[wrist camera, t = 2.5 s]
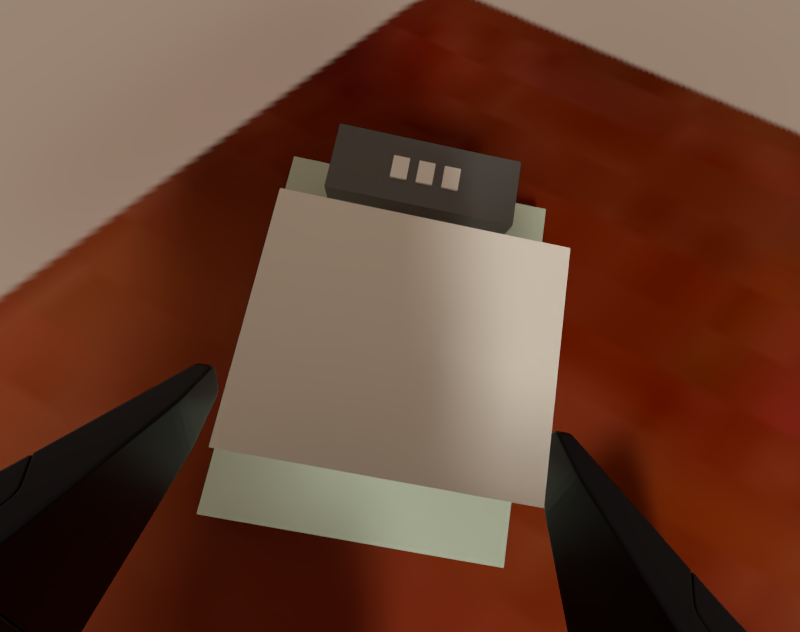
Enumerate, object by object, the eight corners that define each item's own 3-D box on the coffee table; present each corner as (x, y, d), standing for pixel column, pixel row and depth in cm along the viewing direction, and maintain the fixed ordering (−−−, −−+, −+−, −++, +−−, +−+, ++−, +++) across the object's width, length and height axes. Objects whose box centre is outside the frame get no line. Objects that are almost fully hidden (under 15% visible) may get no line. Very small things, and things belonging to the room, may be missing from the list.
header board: (496, 557, 17) (545, 629, 12) (206, 506, 17) (135, 559, 12) (537, 217, 21) (589, 165, 16) (298, 167, 20) (272, 96, 15)
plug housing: (437, 428, 17) (544, 508, 6) (314, 405, 17) (208, 447, 6) (453, 327, 18) (570, 248, 7) (337, 304, 18) (280, 187, 7)
